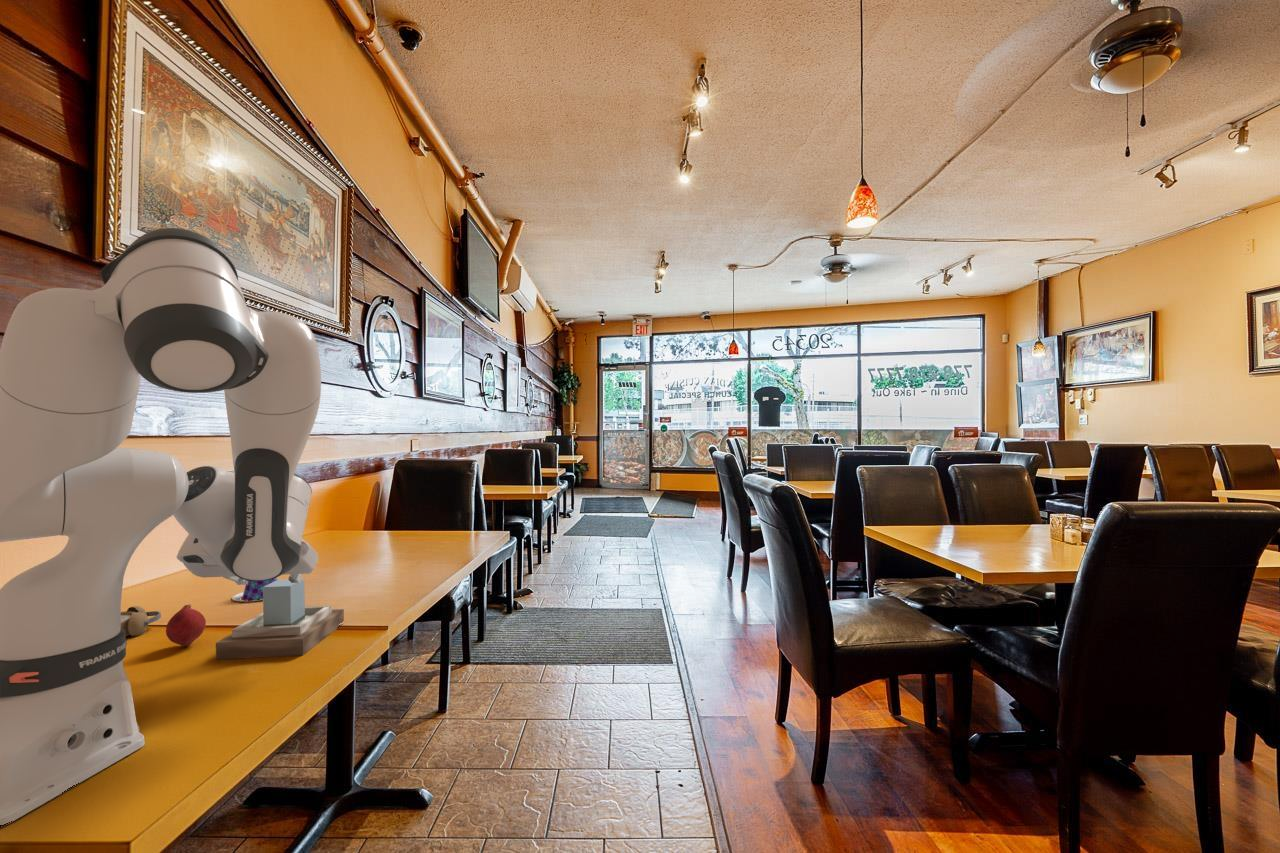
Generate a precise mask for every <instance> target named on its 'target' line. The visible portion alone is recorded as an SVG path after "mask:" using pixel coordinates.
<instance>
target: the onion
mask: <svg viewBox="0 0 1280 853" xmlns="http://www.w3.org/2000/svg"><path fill="white" fill-rule="evenodd" d="M206 625H207V621H206V618H205V616H204V615H203V614H202V613H201V612H200V611H198V610H196V609H193V608H192V604H190V603H186V604H184V605H183V607H181V609H180V610H179V611H177V612H176V613H174V615H173V616H171V618H170V619H169V620H168V622H167V624H166V627H165V634H166V637H167V638H168V640H170V642H171V643H173V644H176V645H179V646H182V647H188V646H191V645H192V644H193V643H194V641H196V640H197V639H198V638H199V637H200V636H201V635H203V633H204V631H205V629H206V627H207V626H206Z"/></svg>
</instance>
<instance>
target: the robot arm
mask: <svg viewBox="0 0 1280 853" xmlns="http://www.w3.org/2000/svg"><path fill="white" fill-rule="evenodd" d="M100 275H101V280H102V282H103V284H104V285H102V287H99V288H97V289H81V288H75V287H74V288H73V287H53V288H48V289H47V288H46V289H43V290H39V291H36V292H33V293H31V294H28V295H27V296H25V297H24V298H23V299H22V300H21V301H19V303H18V304H17V305H16V307H15V309H14V310H13V311H12V312H13V313H12V315H11V316H10V319H9V320H8V323H7V326H6V330H5V332H4V334H3V338H2V341H1V345H0V543H4V542H12V541H13V542H14V541H22V540H23V541H24V540H29V539H38V538H48V537H57V536H61V537H62V536H65V537H66V536H67V538H68V540H67V543H66V545H65V546H64V548H62V550H61V551H60V552H59V553H58V554H56V555H55V556H54V557H51V558H50V559H47V560H45V561H43V562H40V563H39V564H37V565H35V566H33V567H30V568H28V569H27V570H25V571H22V572H21V573H19V574H17V575H16V576H15V577H13V578H11V579H9V581H7V582H6V583H5V584H4V585H3V586H2V587H1V588H0V825H3V824H6V823H8V822H10V823H12V822H14V821H16V820H18V819H19V818H21V817H23V816H25V815H26V814H28V813H30V812H31V811H33V810H35V809H37V808H39V807H40V806H42V805H44V804H45V803H47V802H48V801H51V800H53V799H54V798H56V797H58V796H60V795H61V794H63V793H65V792H66V791H68V790H69V789H68V788H70V787H72V786H73V785H75V786H77V785H78V783H79V784H80V783H82V782H83V781H85V780H87V779H88V778H91V777H92V776H94V775H96V774H98V773H100V772H101V771H103V770H104V769H106V768H108V767H110V766H111V765H113V764H115V763H117V762H118V761H120V760H122V759H124V758H125V757H126V756H129V755H131V754H132V753H134V752H136V751H138V750H139V749H141V748H143V747H144V746H145V745H146V742H145V740H146V739H145V736H144V734H142V733H141V732H140V726H139V724H138V722H137V719H136V712H135V706H134V699H133V692H132V691H133V690H132V686H131V682H130V680H129V679H128V675H127V674H126V672H125V669H124V665H123V663H124V662H123V660H124V659H125V657H126V656H127V646H128V645H127V644H128V643H127V640H126V637H125V630H124V629H122V628H121V612H122V597H123V596H122V594H123V585H124V578H125V573H126V570H127V567H128V565H129V563H130V560H131V558H132V556H133V555H134V553H135V551H136V549H137V548H138V547H139V546H140V544H141V543H142V542H143V541H144V539H145V538H146V537H147V536H148V535H149V534H151V532H152V531H153V530H155V529H156V528H157V527H158V526H160V525H161V524H162V523H164V521H166V520H168V519H169V518H170V517H172V516H173V517H174V519H175V520H176V521H177V522H178V524H180V526H181V527H182V528H183V529H184V530H185V531H186V532H187V534H188V535H186V538H185V539H184V541H183V542H182V544H181V546H180V547H179V550H178V553H177V555H176V559H177V560H178V561H179V562H181V563H182V564H183V565H184V567H185V568H186V569H187V570H188V571H189V572H190V573H191V574H193V576H196V577H200V578H223V579H227V580H230V581H233V582H234V583H236V585H238V586H244V585H245V586H246V585H247V584H248V581H254V582H261V581H268V580H271V579H274V578H276V577H277V578H278V577H280V576H282V575H289V576H288V580H289V581H291V583H300V582H301V579H303V575H308V574H311V573H312V572H313V571H314V570H315V568H316V566H317V564H318V560H319V554H318V553H317V551H316V550H315V549H314V547H312V546H311V545H310V543H309V542H307V541H306V540H305V539H303V535H304V531H305V527H306V521H307V518H308V513H309V512H308V511H309V507H310V503H311V498H312V494H313V492H312V491H313V489H312V487H311V484H309V482H308V481H307V480H306V479H305V478H304V477H303V476H301V475H299V474H298V473H295V472H296V469H297V467H298V464H299V462H300V460H301V458H302V455H303V452H304V450H305V448H306V446H307V443H308V440H309V438H310V436H311V432H312V430H313V427H314V424H315V422H316V418H317V416H318V412H319V408H320V402H321V395H322V394H321V392H322V370H321V361H320V355H319V349H318V345H317V341H316V338H315V334H314V333H313V331H312V330H311V329H310V327H309V326H308V325H307V324H305V322H304V321H302V320H301V319H299V318H297V317H295V316H294V315H291V314H287V313H284V312H280V311H271V310H267V311H258V310H257V311H256V310H254V309H253V308H252V307H249V306H247V303H246V299H245V296H244V292H243V289H242V287H241V284H240V282H239V274H238V271H237V270H236V267H235V265H234V264H233V262H232V261H231V259H230V257H229V256H228V255H227V254H226V253H225V251H224V250H223V249H222V248H221V247H220V246H219V245H218V244H216V243H215V242H214V241H213V240H211V239H210V238H208V237H206V236H204V235H203V234H200V233H199V232H195V231H193V230H190V229H185V228H177V227H164V228H157V229H153V230H151V231H149V232H146V233H144V234H142V235H141V236H139V237H138V238H136V239H135V240H134V241H133V242H132V243H131V244H130V245H129V246H127V247H126V249H125V250H124V251H123V252H122V253H121V254H120V255H119V256H117V257H116V258H114V259H112V260H111V261H110V262H108V263H107V264H106V265H105V266H103V267H102V268H101V270H100ZM141 377H142V378H143V379H144V380H146V381H147V382H149V383H150V384H152V385H154V386H156V387H159V388H162V389H164V390H168V391H174V392H179V393H187V394H188V393H189V394H191V393H192V394H202V393H203V394H204V393H207V394H208V393H215V392H221V391H223V392H224V400H225V408H226V415H227V421H228V422H227V423H228V428H229V429H228V430H229V435H230V436H229V437H230V444H231V455H232V462H233V463H232V464H233V472H231V471H228V470H224V469H222V468H220V467H217V466H212V465H203V466H198V467H195V468H193V469H190V470H189V471H186V469H185V467H184V465H183V464H182V463H181V462H180V460H179V459H178V458H177V457H175V456H174V455H173V454H171V453H169V452H165V451H158V450H153V449H151V450H150V449H142V448H133V447H132V448H131V447H120V446H121V445H122V444H123V442H124V441H125V440H126V439H127V438H128V436H129V434H130V433H131V430H132V426H133V420H134V415H135V410H136V404H137V399H138V396H139V390H140V384H141ZM76 784H77V785H76ZM73 787H74V786H73ZM73 787H72V788H73ZM67 789H68V790H67ZM70 789H71V788H70ZM65 790H66V791H65ZM64 791H65V792H64ZM62 792H63V793H62ZM11 821H12V822H11ZM8 824H9V823H8ZM6 825H7V824H6Z"/></svg>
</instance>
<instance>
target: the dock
mask: <svg viewBox="0 0 1280 853" xmlns="http://www.w3.org/2000/svg"><path fill="white" fill-rule="evenodd" d="M344 610H345V609H344V608H339V609H337V608H336V609H335V608H334V609H333V606H332V605H313V606H312V605H311V606H310V605H309V606H306V605H305V619H303V620H302V621H300V622H299V623H297V624H296V625H288V626H265V627H264V626H263V612H261V613H259V614H258V615H256V616H254V617H253V618H251V619H248V620H247V621H245V622H242V623H241V624H240V625H238V626H236V627H234V628H232V629H231V633H230V634H228V635H227V636H225V637H223V638H221V639H220V640H218V641H216V642H215V660H228V659H247V658H249V659H250V658H271V657H273V658H275V657H289V656H290V657H292V656H293V657H294V656H295V657H296V656H304V655H306V654H307V653H308V652H309V651H310V650H312V649H313V648H314V647H316V646H317V645H318V644H319V643H321V642H322V641H324V640H325V639H326V638H327V637H329V636H330V635H331V634H332V633H334V631H336V630H337V629H338V628H337V627H338V625H339V624H340V623H342V622H343V621H344V622H345V611H344Z"/></svg>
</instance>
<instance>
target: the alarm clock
mask: <svg viewBox="0 0 1280 853" xmlns="http://www.w3.org/2000/svg"><path fill="white" fill-rule="evenodd" d="M148 617H150V618H148ZM160 619H162V613H161V611H159V610H152V611H146V610H145V609H144V608H143V607H141V606H138V605H134V606H130V607H128V608H127V610H126V611H121V628H122V629H124V630H125V638H127V636H130V637H133V638H134V637H139V636H140V635H142V634H144V633H145V632H146V631H147V629H148V626H149V624H152V623H154V622H156V621H159V620H160Z"/></svg>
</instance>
